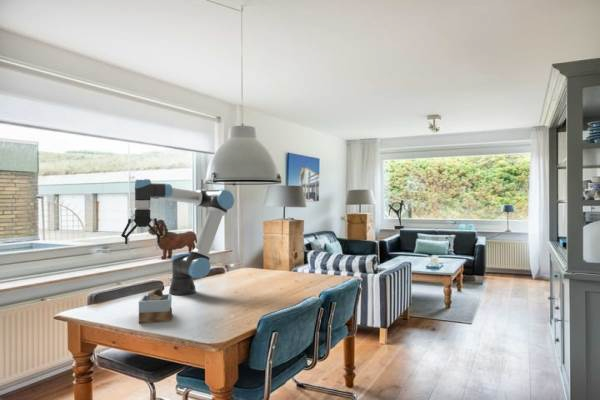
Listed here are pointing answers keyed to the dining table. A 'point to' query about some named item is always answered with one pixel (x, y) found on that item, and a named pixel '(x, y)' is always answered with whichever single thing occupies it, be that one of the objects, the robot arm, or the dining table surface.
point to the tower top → (155, 304)
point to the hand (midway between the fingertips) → (142, 250)
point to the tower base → (155, 317)
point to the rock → (156, 294)
